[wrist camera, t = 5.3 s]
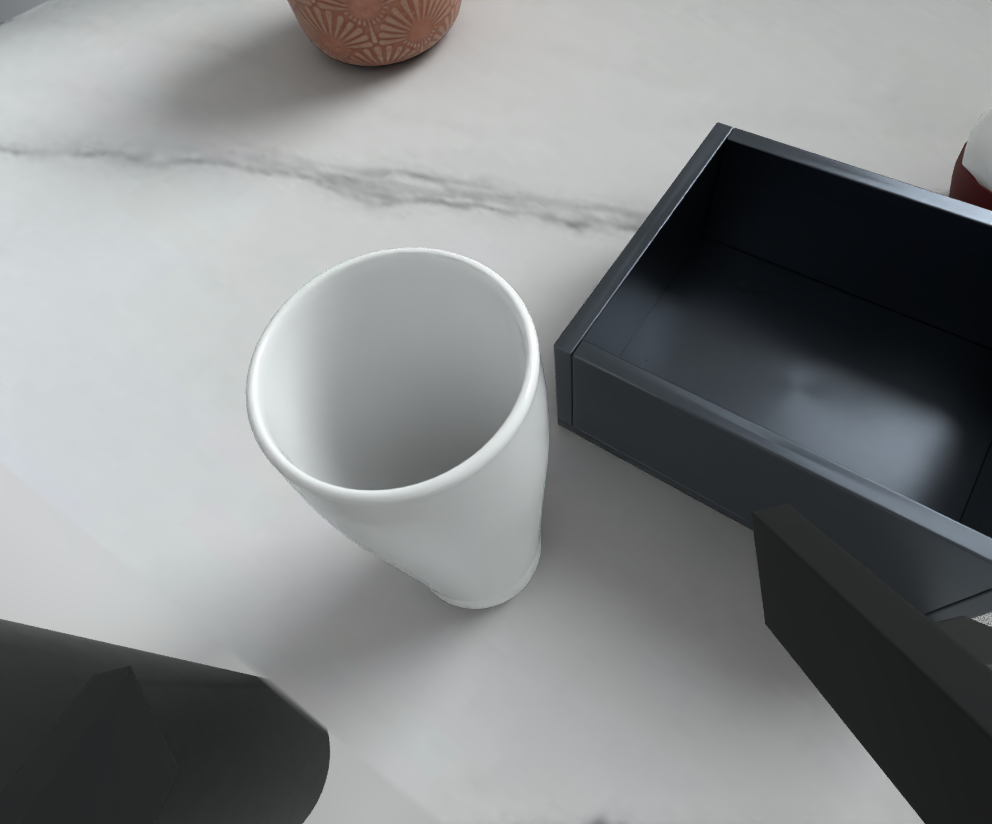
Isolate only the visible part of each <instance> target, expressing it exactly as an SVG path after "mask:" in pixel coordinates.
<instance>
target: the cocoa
mask: <svg viewBox="0 0 992 824" xmlns="http://www.w3.org/2000/svg"><path fill="white" fill-rule="evenodd" d="M949 197H950V198H953V199H956V200H960V201H963V202H966V203H969V204H972V205H975V206H978V207H981V208H984V209H987V210H990V211H992V107H991V108H990V109H988V110H987V111H986V112H985V113H984V114H982V115H981V117H980V118H979V120H978V122H977V123H976V125H975V127H974V128H973V130H972V132H971V134H970V137H969V139H968V141H967V142H966V143H965V145H964V147H963V149H962V151H961V153H960V155H959V157H958V159H957V161H956V164H955V167H954V171H953V175H952V180H951V186H950V193H949Z"/></svg>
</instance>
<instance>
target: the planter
mask: <svg viewBox="0 0 992 824" xmlns="http://www.w3.org/2000/svg"><path fill="white" fill-rule="evenodd" d="M288 2H289V4H290V6H291V8H292V10H293V12H294V14H295V16H296V18H297V20H298V22H299V24H300V26H301V27H302V29H303V30H304V32H305V33H306V35H307V36H308V37H309V39H310V40H311V41H312V42H313V43H314V45H315V46H316V47H317V48H319V49H320V50H321V51H322V52H324V53H325V54H327V55H328V56H330V57H332V58H334V59H336V60H339V61H342V62H345V63H348V64H353V65H361V66H380V65H388V64H393V63H397V62H401V61H404V60H407V59H409V58H412V57H414V56H416V55H418V54H420V53H422V52H424V51H426V50H427V49H429V48H430V47H432V46H433V45H435V44H436V43H437V42H438V41H439V40H440V39H441V38H442V37H443V36H444V35H445V34H446V33H447V32H448V31H449V29H450V28H451V26H452V25H453V23H454V21H455V19H456V17H457V15H458V12H459V9H460V5H461V0H288Z"/></svg>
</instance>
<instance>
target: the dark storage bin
mask: <svg viewBox="0 0 992 824" xmlns="http://www.w3.org/2000/svg"><path fill="white" fill-rule="evenodd" d="M554 360H555V379H556V397H557V416H558V424H559V425H561V426H563V427H565V428H567V429H568V430H570V431H572V432H574V433H576V434H578V435H579V436H581V437H583V438H585V439H587V440H589V441H590V442H592V443H594V444H596V445H598V446H600V447H601V448H603V449H605V450H607V451H609V452H611V453H612V454H614V455H616V456H618V457H620V458H622V459H623V460H625V461H627V462H629V463H631V464H633V465H634V466H636V467H638V468H640V469H642V470H644V471H645V472H647V473H649V474H651V475H653V476H655V477H656V478H658V479H660V480H662V481H664V482H666V483H667V484H669V485H671V486H673V487H675V488H677V489H678V490H680V491H682V492H684V493H686V494H688V495H689V496H691V497H693V498H695V499H697V500H699V501H700V502H702V503H704V504H706V505H708V506H710V507H711V508H713V509H715V510H717V511H719V512H721V513H722V514H724V515H726V516H728V517H730V518H732V519H733V520H735V521H737V522H739V523H741V524H743V525H744V526H746V527H748V528H750V529H752V530H753V524H752V516H751V512H754V511H758V510H762V509H766V508H770V507H774V506H778V505H782V504H786V503H787V504H789V505H790V506H791V507H792V508H794V509H795V510H796V511H797V512H798V513H800V514H801V515H802V516H803V517H805V518H806V519H807V520H808V521H810V522H811V523H812V524H813V525H814V526H816V527H817V528H818V529H819V530H821V531H822V532H823V533H824V534H825V535H827V536H828V537H829V538H830V539H832V540H833V541H834V542H835V543H837V544H838V545H839V546H840V547H841V548H843V549H844V550H845V551H846V552H848V553H849V554H850V555H851V556H853V557H854V558H855V559H856V560H857V561H859V562H860V563H861V564H862V565H864V566H865V567H866V568H867V569H869V570H870V571H871V572H872V573H873V574H875V575H876V576H877V577H878V578H880V579H881V580H882V581H883V582H884V583H886V584H887V585H888V586H889V587H891V588H892V589H893V590H894V591H896V592H897V593H898V594H899V595H900V596H902V597H903V598H904V599H905V600H907V601H908V602H909V603H910V604H912V605H913V606H914V607H915V608H916V609H918V610H919V611H920V612H921V613H923V614H924V615H925V616H926V617H928V618H929V619H930V620H931V621H932V622H938V621H942V620H946V619H950V618H954V617H958V616H962V615H963V616H965V617H968V618H970V619H972V618H975V617H978V616H981V615H984V614H987V613H991V612H992V211H990V210H987V209H984V208H981V207H978V206H975V205H972V204H969V203H966V202H963V201H960V200H956V199H953V198H950V197H947V196H944V195H941V194H938V193H935V192H932V191H929V190H926V189H923V188H919V187H916V186H913V185H910V184H907V183H904V182H901V181H898V180H895V179H892V178H889V177H885V176H882V175H879V174H876V173H873V172H870V171H867V170H864V169H861V168H858V167H855V166H851V165H848V164H845V163H842V162H839V161H836V160H833V159H830V158H827V157H824V156H821V155H818V154H814V153H811V152H808V151H805V150H802V149H799V148H796V147H793V146H790V145H787V144H784V143H780V142H777V141H774V140H771V139H768V138H765V137H762V136H759V135H756V134H753V133H750V132H746V131H743V130H740V129H737V128H734V129H733V127H731V126H728V125H725V124H721V123H716V125H715V126H714V128H713V129H712V130H711V132H710V133H709V134H708V136H707V137H706V138H705V140H704V141H703V142H702V144H701V145H700V147H699V148H698V149H697V151H696V152H695V153H694V155H693V156H692V157H691V159H690V160H689V162H688V163H687V164H686V166H685V167H684V168H683V170H682V171H681V172H680V174H679V175H678V176H677V178H676V179H675V181H674V182H673V183H672V185H671V186H670V187H669V189H668V190H667V191H666V193H665V194H664V196H663V197H662V198H661V200H660V201H659V202H658V204H657V205H656V206H655V208H654V209H653V211H652V212H651V213H650V215H649V216H648V217H647V219H646V220H645V221H644V223H643V224H642V225H641V227H640V228H639V230H638V231H637V232H636V234H635V235H634V236H633V238H632V239H631V240H630V242H629V243H628V245H627V246H626V247H625V249H624V250H623V251H622V253H621V254H620V255H619V257H618V258H617V259H616V261H615V262H614V264H613V265H612V266H611V268H610V269H609V270H608V272H607V273H606V274H605V276H604V277H603V279H602V280H601V281H600V283H599V284H598V285H597V287H596V288H595V289H594V291H593V292H592V294H591V295H590V296H589V298H588V299H587V300H586V302H585V303H584V304H583V306H582V307H581V308H580V310H579V311H578V313H577V314H576V315H575V317H574V318H573V319H572V321H571V322H570V323H569V325H568V326H567V328H566V329H565V330H564V332H563V333H562V334H561V336H560V337H559V338H558V340H557V341H556V342H555V344H554Z"/></svg>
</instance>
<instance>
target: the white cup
mask: <svg viewBox="0 0 992 824" xmlns="http://www.w3.org/2000/svg"><path fill="white" fill-rule="evenodd" d="M246 407H247V413H248V418H249V422H250V425H251V429H252V432H253V434H254V436H255V439H256V441H257V443H258V445H259V446H260V448H261V450H262V452H263V453H264V455H265V456H266V457H267V459H268V460H269V461H270V463H271V464H272V465H273V466H274V467H275V468H276V469H277V470H278V471H279V472H280V473H281V474H282V476H283V477H284V478H285V479H286V480H287V481H288V482H289V484H290V485H291V486H292V487H293V488H294V489H295V490H296V491H297V492H298V493H299V494H300V495H301V496H302V498H303V499H304V500H305V501H306V502H307V503H308V504H309V505H310V506H311V507H312V508H313V509H314V510H315V511H316V512H317V513H319V514H320V515H321V516H322V517H323V518H324V519H325V520H326V521H327V522H329V523H330V524H331V525H332V526H333V527H335V528H336V529H337V530H338V531H340V532H341V533H342V534H343V535H345V536H346V537H347V538H349V539H350V540H351V541H353V542H354V543H356V544H357V545H359V546H360V547H362V548H363V549H365V550H367V551H368V552H370V553H371V554H373V555H375V556H376V557H378V558H380V559H382V560H383V561H385V562H387V563H388V564H390V565H392V566H394V567H395V568H397V569H399V570H400V571H402V572H404V573H406V574H407V575H409V576H411V577H412V578H414V579H416V580H417V581H419V582H421V583H422V584H424V585H425V586H427V587H428V588H429V589H430V590H431V591H432V592H433V593H434V594H435V595H437V596H438V597H439V598H441V599H442V600H444V601H446V602H448V603H450V604H452V605H455V606H458V607H462V608H468V609H483V608H489V607H493V606H496V605H499V604H502V603H504V602H506V601H508V600H509V599H511V598H513V597H514V596H515V595H517V594H518V593H519V592H520V591H521V590H522V589H523V588H524V587H525V586H526V585H527V583H528V582H529V581H530V579H531V578H532V576H533V574H534V572H535V570H536V568H537V565H538V563H539V559H540V555H541V546H542V539H541V530H540V528H541V517H542V508H543V499H544V491H545V482H546V474H547V466H548V455H549V412H548V400H547V390H546V383H545V377H544V371H543V366H542V360H541V355H540V350H539V343H538V338H537V333H536V330H535V326H534V323H533V321H532V318H531V316H530V314H529V312H528V310H527V308H526V306H525V305H524V303H523V301H522V300H521V298H520V297H519V296H518V294H517V293H516V292H515V290H514V289H513V288H512V287H511V286H510V285H509V284H508V283H507V282H506V281H505V280H504V279H502V278H501V277H500V276H499V275H498V274H496V273H495V272H493V271H492V270H491V269H489V268H488V267H486V266H484V265H482V264H480V263H479V262H477V261H475V260H472V259H470V258H467V257H465V256H462V255H459V254H456V253H453V252H448V251H444V250H438V249H431V248H417V247H412V248H395V249H387V250H381V251H376V252H372V253H368V254H364V255H361V256H358V257H355V258H352V259H350V260H347V261H345V262H342V263H340V264H338V265H336V266H334V267H332V268H330V269H328V270H326V271H325V272H323V273H321V274H320V275H318V276H316V277H315V278H313V279H312V280H311V281H309V282H308V283H306V284H305V285H304V286H302V287H301V288H300V289H299V290H298V291H296V292H295V293H294V294H293V295H292V296H291V297H290V298H289V299H288V300H287V301H286V302H285V303H284V304H283V305H282V306H281V308H280V309H279V310H278V311H277V312H276V314H275V315H274V316H273V318H272V319H271V320H270V322H269V323H268V325H267V326H266V328H265V329H264V331H263V333H262V335H261V337H260V339H259V341H258V343H257V345H256V347H255V350H254V352H253V355H252V358H251V362H250V365H249V369H248V375H247V381H246Z"/></svg>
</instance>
